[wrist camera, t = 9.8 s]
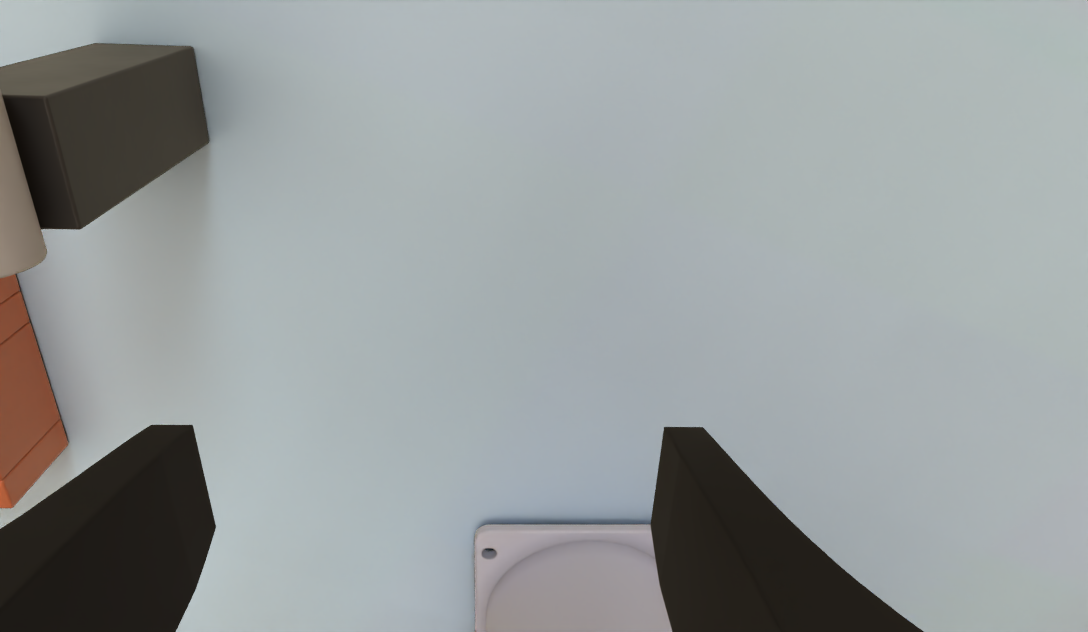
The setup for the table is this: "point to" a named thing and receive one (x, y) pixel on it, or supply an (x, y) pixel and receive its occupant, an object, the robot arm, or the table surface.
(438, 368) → the table surface
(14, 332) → the holder
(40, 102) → the block with cylinder
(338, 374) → the table surface
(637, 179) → the table surface
